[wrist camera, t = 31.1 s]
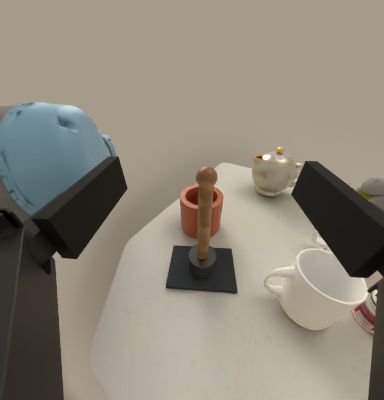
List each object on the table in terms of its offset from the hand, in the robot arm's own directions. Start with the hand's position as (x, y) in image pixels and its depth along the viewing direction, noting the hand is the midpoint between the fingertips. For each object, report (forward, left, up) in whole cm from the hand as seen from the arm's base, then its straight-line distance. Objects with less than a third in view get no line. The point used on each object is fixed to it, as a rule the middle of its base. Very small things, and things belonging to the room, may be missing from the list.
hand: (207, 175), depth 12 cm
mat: (-7, +7, -28) cm, 30 cm away
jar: (-17, +16, -28) cm, 36 cm away
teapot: (-12, +47, -28) cm, 56 cm away
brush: (-7, +7, -27) cm, 29 cm away
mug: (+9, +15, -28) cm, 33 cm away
